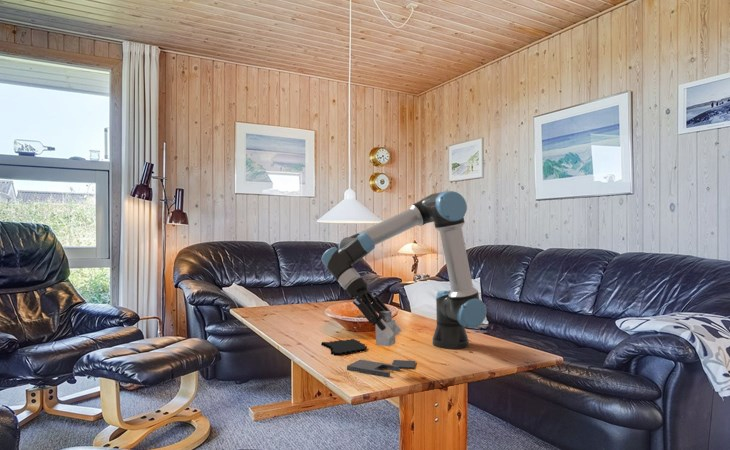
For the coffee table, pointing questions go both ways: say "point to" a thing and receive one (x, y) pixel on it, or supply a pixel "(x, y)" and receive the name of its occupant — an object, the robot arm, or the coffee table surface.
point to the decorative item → (344, 347)
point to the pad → (404, 364)
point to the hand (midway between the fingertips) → (395, 334)
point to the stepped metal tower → (380, 336)
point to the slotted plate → (372, 367)
